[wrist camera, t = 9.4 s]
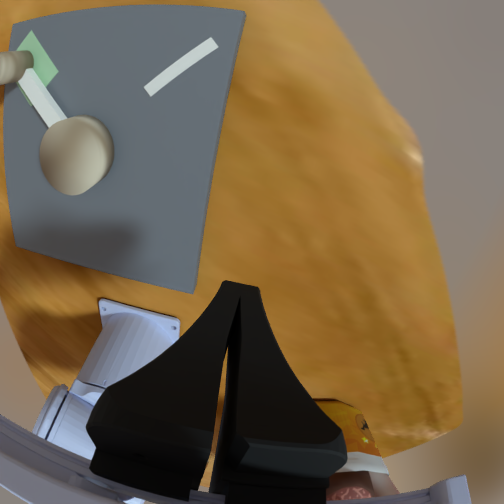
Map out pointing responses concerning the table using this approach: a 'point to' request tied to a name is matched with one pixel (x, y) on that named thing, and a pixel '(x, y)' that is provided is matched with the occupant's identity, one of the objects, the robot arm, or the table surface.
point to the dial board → (125, 135)
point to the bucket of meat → (356, 458)
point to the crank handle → (62, 132)
